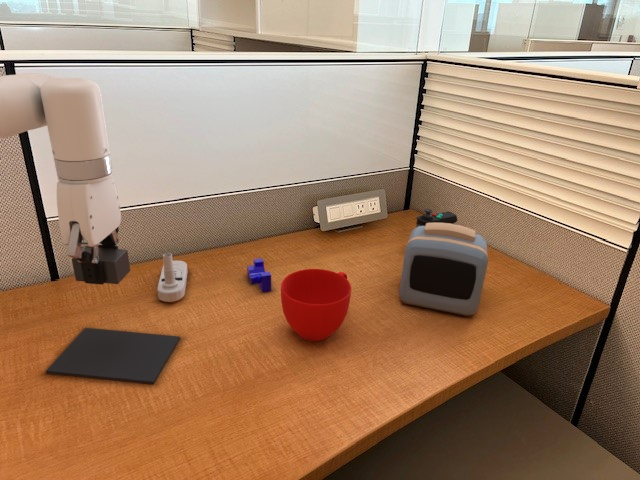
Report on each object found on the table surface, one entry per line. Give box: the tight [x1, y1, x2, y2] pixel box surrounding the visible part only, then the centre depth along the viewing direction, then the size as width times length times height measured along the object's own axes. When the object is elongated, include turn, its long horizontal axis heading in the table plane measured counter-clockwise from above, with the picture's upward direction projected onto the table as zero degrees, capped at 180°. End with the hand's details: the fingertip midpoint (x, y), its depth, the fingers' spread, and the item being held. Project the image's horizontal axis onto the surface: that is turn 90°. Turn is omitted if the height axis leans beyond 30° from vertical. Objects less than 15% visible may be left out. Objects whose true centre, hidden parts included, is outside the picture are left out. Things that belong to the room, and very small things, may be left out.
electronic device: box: [156, 252, 189, 303], centre depth 103 cm, size 5×10×15 cm
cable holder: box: [246, 258, 272, 293], centre depth 106 cm, size 8×4×4 cm, turn 20°
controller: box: [415, 208, 458, 227], centre depth 128 cm, size 4×12×10 cm, turn 118°
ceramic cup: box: [280, 268, 352, 342], centre depth 91 cm, size 13×17×10 cm
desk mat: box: [45, 327, 181, 385], centre depth 83 cm, size 18×12×1 cm, turn 85°
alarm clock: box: [398, 223, 489, 317], centre depth 103 cm, size 16×16×16 cm
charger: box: [68, 247, 131, 285], centre depth 78 cm, size 8×4×4 cm, turn 85°
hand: (103, 273), depth 78 cm, fingers closed on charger, 4 cm apart
